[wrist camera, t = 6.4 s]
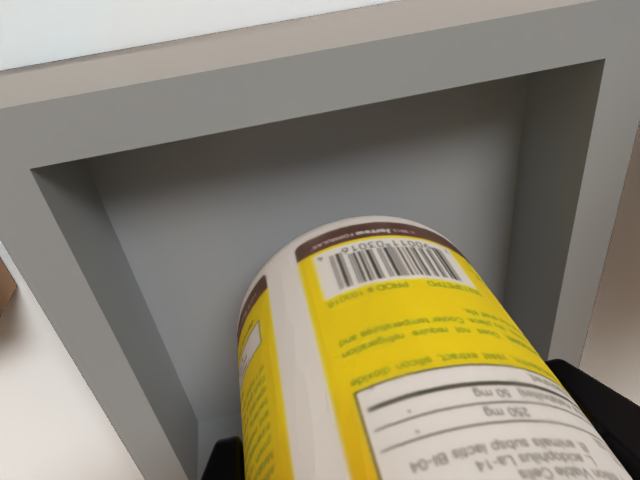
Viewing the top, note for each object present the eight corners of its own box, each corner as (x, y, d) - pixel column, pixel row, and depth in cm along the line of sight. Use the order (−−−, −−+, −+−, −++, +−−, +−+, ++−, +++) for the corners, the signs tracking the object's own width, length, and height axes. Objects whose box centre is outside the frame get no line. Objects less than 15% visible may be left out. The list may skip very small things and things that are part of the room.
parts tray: (566, -29, 11) (672, -14, 8) (514, 351, 17) (564, 422, 15) (1, 70, 10) (-71, 121, 7) (177, 432, 16) (171, 523, 14)
